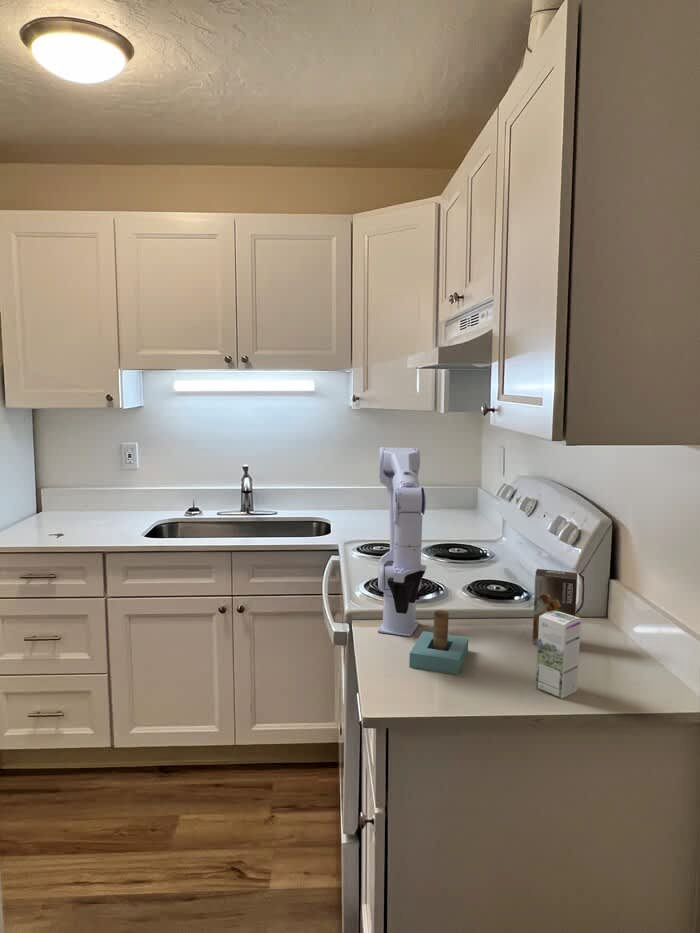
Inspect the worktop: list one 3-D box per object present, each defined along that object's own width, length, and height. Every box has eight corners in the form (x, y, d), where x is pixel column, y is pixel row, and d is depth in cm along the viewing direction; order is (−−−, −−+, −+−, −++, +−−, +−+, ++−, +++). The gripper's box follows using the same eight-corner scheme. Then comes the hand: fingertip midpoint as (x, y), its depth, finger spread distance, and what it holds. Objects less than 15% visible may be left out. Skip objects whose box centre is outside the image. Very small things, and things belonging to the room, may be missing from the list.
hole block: (422, 644, 142) (423, 631, 142) (467, 650, 139) (468, 637, 139) (409, 667, 130) (409, 652, 130) (458, 674, 127) (459, 660, 126)
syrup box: (578, 691, 121) (582, 616, 119) (561, 700, 117) (565, 623, 115) (551, 680, 125) (555, 608, 123) (534, 689, 121) (538, 615, 120)
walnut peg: (434, 655, 136) (435, 609, 135) (448, 657, 135) (449, 611, 134) (431, 660, 133) (432, 614, 132) (445, 662, 133) (447, 615, 131)
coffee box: (575, 640, 146) (579, 572, 144) (574, 651, 140) (578, 579, 138) (533, 634, 149) (537, 567, 148) (530, 644, 143) (534, 574, 142)
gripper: (419, 553, 126) (416, 620, 127) (433, 539, 139) (431, 599, 141) (384, 550, 128) (382, 616, 129) (402, 536, 142) (400, 596, 143)
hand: (405, 607), depth 135 cm, fingers open, 7 cm apart
